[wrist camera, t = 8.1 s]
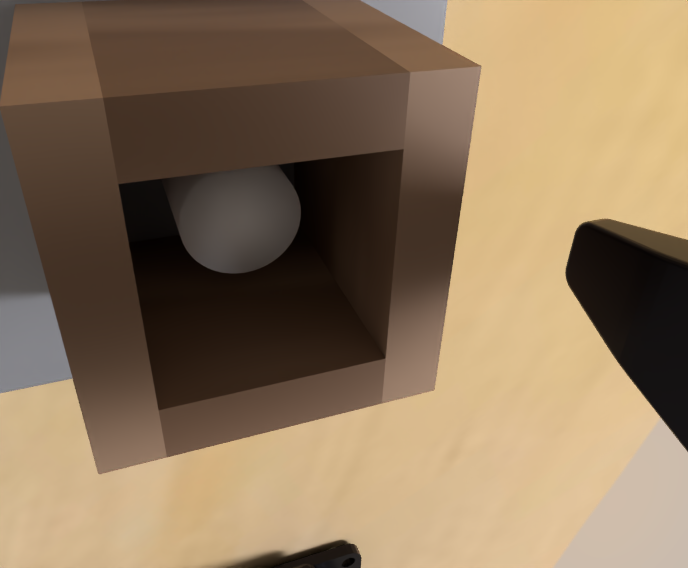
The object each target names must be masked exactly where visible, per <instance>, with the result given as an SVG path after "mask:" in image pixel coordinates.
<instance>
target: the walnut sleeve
mask: <svg viewBox="0 0 688 568" xmlns="http://www.w3.org/2000/svg"><path fill="white" fill-rule="evenodd" d="M480 72H481V66H480V65H478V64H476V63H474V62H473V61H471V60H469V59H467V58H465V57H463V56H462V55H460V54H458V53H456V52H454V51H452V50H451V49H449V48H447V47H445V46H443V45H441V44H439V43H438V42H436V41H434V40H432V39H430V38H428V37H427V36H425V35H423V34H421V33H419V32H417V31H416V30H414V29H412V28H410V27H408V26H406V25H405V24H403V23H401V22H399V21H397V20H395V19H394V18H392V17H390V16H388V15H386V14H384V13H383V12H381V11H379V10H377V9H375V8H373V7H372V6H370V5H368V4H366V3H364V2H362V1H361V0H110V1H85V2H60V3H35V4H15V9H14V16H13V22H12V28H11V35H10V41H9V48H8V54H7V60H6V67H5V73H4V80H3V86H2V93H1V99H0V111H1V115H2V118H3V122H4V126H5V129H6V133H7V137H8V141H9V144H10V148H11V152H12V155H13V159H14V163H15V166H16V170H17V174H18V178H19V181H20V185H21V189H22V192H23V196H24V200H25V204H26V207H27V211H28V215H29V218H30V222H31V226H32V230H33V233H34V237H35V241H36V244H37V248H38V252H39V255H40V259H41V263H42V267H43V270H44V274H45V278H46V281H47V285H48V289H49V293H50V296H51V300H52V304H53V307H54V311H55V315H56V319H57V322H58V326H59V330H60V333H61V337H62V341H63V344H64V348H65V352H66V356H67V359H68V363H69V367H70V370H71V374H72V378H73V382H74V385H75V389H76V393H77V396H78V400H79V404H80V408H81V411H82V415H83V419H84V422H85V426H86V430H87V434H88V437H89V441H90V445H91V448H92V452H93V456H94V459H95V463H96V467H97V471H98V474H102V473H106V472H110V471H114V470H118V469H122V468H126V467H130V466H134V465H138V464H142V463H146V462H150V461H154V460H158V459H162V458H166V457H170V456H174V455H178V454H182V453H186V452H190V451H194V450H198V449H202V448H206V447H210V446H214V445H218V444H222V443H226V442H230V441H234V440H238V439H242V438H246V437H250V436H254V435H258V434H262V433H266V432H270V431H274V430H278V429H282V428H286V427H290V426H294V425H298V424H302V423H306V422H310V421H314V420H318V419H322V418H326V417H329V416H333V415H337V414H341V413H345V412H349V411H353V410H357V409H361V408H365V407H369V406H373V405H377V404H381V403H385V402H389V401H393V400H397V399H401V398H405V397H409V396H413V395H417V394H421V393H425V392H429V391H433V390H434V389H435V382H436V375H437V368H438V361H439V354H440V348H441V341H442V334H443V327H444V320H445V313H446V306H447V299H448V293H449V286H450V279H451V272H452V265H453V258H454V251H455V244H456V238H457V231H458V224H459V217H460V210H461V203H462V196H463V189H464V183H465V176H466V169H467V162H468V155H469V148H470V141H471V134H472V128H473V121H474V114H475V107H476V100H477V93H478V86H479V79H480ZM286 163H294V189H295V191H296V192H297V195H298V198H299V201H300V207H301V218H300V224H299V228H298V231H297V233H296V235H295V237H294V239H293V241H292V243H291V244H290V246H289V247H288V248H287V249H286V250H285V252H284V253H282V254H281V255H280V256H279V257H278V258H277V259H275V260H274V261H273V262H271V263H269V264H268V265H266V266H264V267H262V268H260V269H257V270H254V271H250V272H246V273H222V272H218V271H214V270H211V269H209V268H207V267H205V266H203V265H201V264H200V263H199V262H197V261H196V260H195V259H194V258H193V257H192V256H191V255H190V254H189V253H188V251H187V250H186V248H185V246H184V245H183V242H182V239H181V237H180V235H176V236H169V237H162V238H156V239H149V240H142V241H135V242H128V236H127V230H126V225H125V219H124V214H123V208H122V202H121V197H120V191H119V185H118V184H123V183H131V182H139V181H147V180H155V179H164V178H172V177H180V176H188V175H196V174H204V173H212V172H221V171H229V170H237V169H245V168H253V167H261V166H270V165H278V164H286Z"/></svg>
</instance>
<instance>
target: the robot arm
mask: <svg viewBox="0 0 688 568" xmlns="http://www.w3.org/2000/svg"><path fill="white" fill-rule="evenodd" d="M566 280H567V283H568V285H569V287H570V289H571V290H572V292H573V293H574V295H575V297H576V298H577V300H578V301H579V303H580V304H581V306H582V308H583V309H584V311H585V312H586V314H587V315H588V317H589V318H590V320H591V322H592V323H593V325H594V326H595V328H596V329H597V331H598V333H599V334H600V336H601V337H602V339H603V340H604V342H605V344H606V345H607V347H608V348H609V350H610V351H611V353H612V354H613V356H614V357H615V359H616V360H617V362H618V363H619V364H620V366H621V367H622V368H623V370H624V371H625V372H626V374H627V375H628V376H629V378H630V379H631V380H632V382H633V383H634V384H635V385H636V387H637V388H638V389H639V390H640V392H641V393H642V394H643V396H644V397H645V398H646V399H647V401H648V402H649V403H650V404H651V406H652V407H653V408H654V410H655V411H656V412H657V413H658V415H659V416H660V417H661V418H662V420H663V421H664V422H665V424H666V425H667V426H668V427H669V429H670V430H671V431H672V432H673V434H674V435H675V436H676V438H677V439H678V440H679V441H680V443H681V444H682V445H683V446H684V448H685V449H686V450H687V451H688V240H686V239H682V238H678V237H675V236H671V235H667V234H663V233H660V232H656V231H652V230H648V229H645V228H641V227H637V226H633V225H630V224H626V223H622V222H618V221H615V220H611V219H599V220H593V221H588V222H584V223H582V224H581V225H579V227H578V228H577V230H576V232H575V235H574V239H573V243H572V247H571V251H570V254H569V258H568V262H567V266H566ZM273 568H361V555H360V553H359V551H358V548H357V546H356V545H354V544H346V545H342V546H339V547H336V548H333V549H330V550H326V551H323V552H320V553H317V554H314V555H311V556H307V557H304V558H301V559H298V560H295V561H292V562H288V563H285V564H282V565H279V566H276V567H273Z"/></svg>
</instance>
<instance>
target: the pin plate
mask: <svg viewBox="0 0 688 568" xmlns="http://www.w3.org/2000/svg"><path fill="white" fill-rule="evenodd" d="M85 1H110V0H0V99H1V93H2V86H3V80H4V73H5V67H6V60H7V54H8V48H9V41H10V35H11V28H12V22H13V16H14V9H15V4H35V3H60V2H85ZM361 1H362V2H364V3H366V4H368V5H370V6H372V7H373V8H375V9H377V10H379V11H381V12H383V13H384V14H386V15H388V16H390V17H392V18H394V19H395V20H397V21H399V22H401V23H403V24H405V25H406V26H408V27H410V28H412V29H414V30H416V31H417V32H419V33H421V34H423V35H425V36H427V37H428V38H430V39H432V40H434V41H436V42H438V43H439V44H441V45H442V43H443V34H444V25H445V16H446V7H447V0H361ZM118 185H119V191H120V197H121V202H122V208H123V214H124V219H125V225H126V230H127V236H128V242H135V241H142V240H149V239H156V238H162V237H169V236H176V235H180V237H181V239H182V242H183V245H184V246H185V248H186V250H187V251H188V253H189V254H190V255H191V256H192V257H193V258H194V259H195V260H196V261H197V262H199V263H200V264H201V265H203V266H205V267H207V268H209V269H211V270H214V271H218V272H222V273H246V272H250V271H254V270H257V269H260V268H262V267H264V266H266V265H268V264H269V263H271V262H273V261H274V260H275V259H277V258H278V257H279V256H280V255H281V254H282V253H284V252H285V250H286V249H287V248H288V247H289V246H290V244H291V243H292V241H293V239H294V237H295V235H296V233H297V231H298V228H299V224H300V218H301V207H300V201H299V198H298V195H297V192H296V191H295V189H294V163H286V164H278V165H270V166H261V167H253V168H245V169H237V170H229V171H221V172H212V173H204V174H196V175H188V176H180V177H172V178H164V179H155V180H147V181H139V182H131V183H123V184H118ZM67 379H72V374H71V370H70V367H69V363H68V359H67V356H66V352H65V348H64V344H63V341H62V337H61V333H60V330H59V326H58V322H57V319H56V315H55V311H54V307H53V304H52V300H51V296H50V293H49V289H48V285H47V281H46V278H45V274H44V270H43V267H42V263H41V259H40V255H39V252H38V248H37V244H36V241H35V237H34V233H33V230H32V226H31V222H30V218H29V215H28V211H27V207H26V204H25V200H24V196H23V192H22V189H21V185H20V181H19V178H18V174H17V170H16V166H15V163H14V159H13V155H12V152H11V148H10V144H9V141H8V137H7V133H6V129H5V126H4V122H3V118H2V115H1V111H0V393H4V392H9V391H13V390H18V389H23V388H28V387H33V386H38V385H43V384H48V383H52V382H57V381H62V380H67Z"/></svg>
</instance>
